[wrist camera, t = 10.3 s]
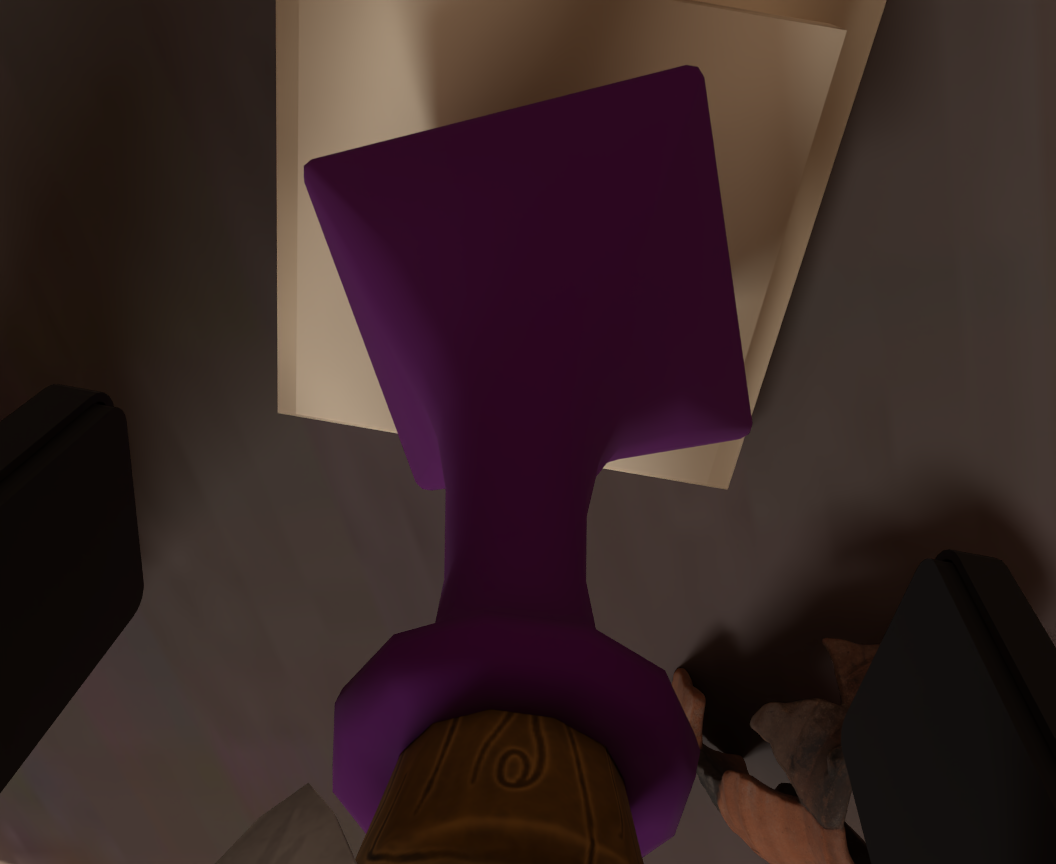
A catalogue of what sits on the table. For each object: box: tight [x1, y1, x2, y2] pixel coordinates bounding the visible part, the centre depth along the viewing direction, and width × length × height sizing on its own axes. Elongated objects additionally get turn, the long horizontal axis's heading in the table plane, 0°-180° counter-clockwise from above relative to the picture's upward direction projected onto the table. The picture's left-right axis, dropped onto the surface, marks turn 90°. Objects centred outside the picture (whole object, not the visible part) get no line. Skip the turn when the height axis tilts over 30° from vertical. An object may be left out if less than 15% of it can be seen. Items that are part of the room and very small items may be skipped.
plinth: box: [276, 0, 887, 490], centre depth 21 cm, size 13×13×4 cm
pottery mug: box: [672, 638, 881, 864], centre depth 29 cm, size 12×10×8 cm
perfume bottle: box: [215, 65, 753, 864], centre depth 12 cm, size 8×8×18 cm
